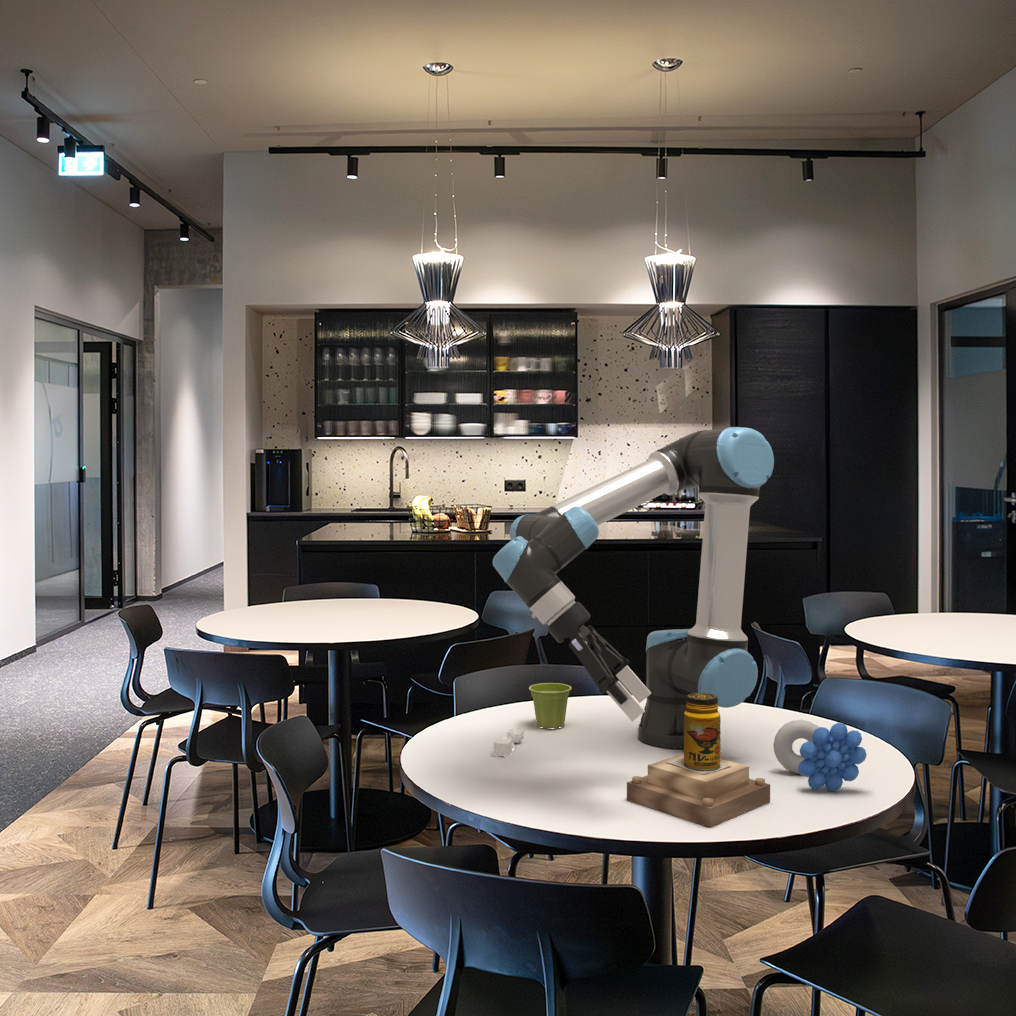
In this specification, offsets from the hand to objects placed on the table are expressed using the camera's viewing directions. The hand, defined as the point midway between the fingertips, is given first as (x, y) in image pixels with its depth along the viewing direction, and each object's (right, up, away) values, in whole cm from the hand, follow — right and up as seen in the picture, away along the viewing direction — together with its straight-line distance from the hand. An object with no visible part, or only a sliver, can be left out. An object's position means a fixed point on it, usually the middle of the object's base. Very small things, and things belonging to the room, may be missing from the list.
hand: (642, 707), depth 158 cm
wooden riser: (+9, -15, -4) cm, 18 cm away
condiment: (+9, -9, -3) cm, 13 cm away
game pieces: (-23, -15, +27) cm, 39 cm away
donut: (+31, -15, +11) cm, 36 cm away
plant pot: (-14, -14, +44) cm, 49 cm away
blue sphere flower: (+33, -15, +2) cm, 37 cm away
